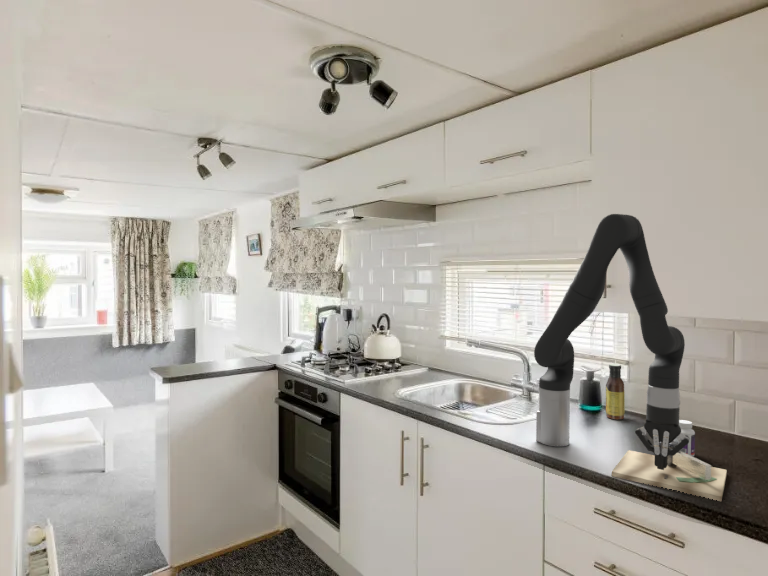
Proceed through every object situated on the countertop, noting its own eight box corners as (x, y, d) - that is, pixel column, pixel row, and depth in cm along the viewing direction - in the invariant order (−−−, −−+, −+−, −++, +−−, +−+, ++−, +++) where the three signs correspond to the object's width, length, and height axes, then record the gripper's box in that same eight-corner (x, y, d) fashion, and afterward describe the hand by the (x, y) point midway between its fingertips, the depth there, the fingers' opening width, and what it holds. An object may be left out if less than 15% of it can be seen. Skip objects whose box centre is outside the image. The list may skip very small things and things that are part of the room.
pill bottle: (686, 450, 150) (687, 418, 150) (698, 457, 145) (699, 424, 145) (669, 451, 150) (670, 419, 150) (680, 457, 145) (681, 424, 144)
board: (611, 476, 132) (611, 470, 131) (628, 454, 147) (628, 449, 147) (721, 501, 117) (721, 495, 117) (726, 474, 133) (726, 469, 133)
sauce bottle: (612, 414, 188) (613, 362, 188) (628, 418, 183) (629, 364, 183) (601, 417, 185) (602, 363, 184) (617, 421, 180) (618, 366, 179)
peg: (660, 462, 137) (660, 441, 137) (672, 461, 138) (673, 440, 137) (700, 484, 123) (701, 460, 123) (714, 482, 124) (715, 459, 124)
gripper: (632, 401, 131) (630, 466, 132) (690, 410, 123) (688, 479, 124) (637, 396, 137) (636, 458, 138) (694, 404, 129) (692, 470, 130)
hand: (661, 468), depth 131 cm, fingers closed
